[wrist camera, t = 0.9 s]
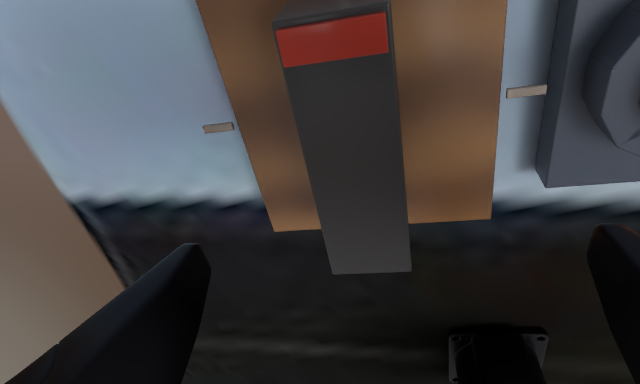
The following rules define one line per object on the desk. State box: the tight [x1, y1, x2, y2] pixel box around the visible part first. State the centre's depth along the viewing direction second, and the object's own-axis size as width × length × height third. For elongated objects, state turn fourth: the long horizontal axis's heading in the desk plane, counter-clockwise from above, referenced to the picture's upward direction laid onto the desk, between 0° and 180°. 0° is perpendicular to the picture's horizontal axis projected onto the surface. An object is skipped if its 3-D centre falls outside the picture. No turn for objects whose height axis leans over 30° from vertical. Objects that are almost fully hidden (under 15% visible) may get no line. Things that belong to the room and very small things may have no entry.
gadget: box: [271, 0, 412, 274], centre depth 15 cm, size 10×3×5 cm, turn 11°
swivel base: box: [196, 0, 547, 232], centre depth 18 cm, size 14×14×3 cm
